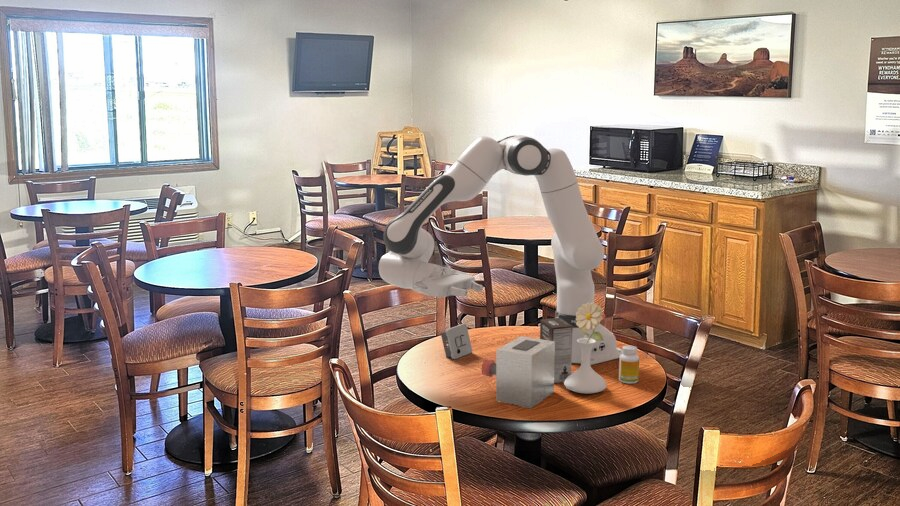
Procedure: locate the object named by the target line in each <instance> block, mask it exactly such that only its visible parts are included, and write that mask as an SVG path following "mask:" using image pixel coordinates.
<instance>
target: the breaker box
mask: <svg viewBox="0 0 900 506" xmlns="http://www.w3.org/2000/svg"><path fill="white" fill-rule="evenodd" d="M554 362H555V341H548V340H542V339H540V338H536V337H535V338H534V337H528V336H523V335H520V336H519V337H516V338H515V339H513V340H511V341H509V342H508V343H506V344H504V345H502V346H500V347H498V348H497V349H496V361H495V363H496V375H495V379H496V380H495V387H496V389H495V392H496V393H495V397H496V398H495V402H497V401H500V402H499V403H502V402H504V403H503V404H507V403H509V404H508V405H511V404H514V405H513V406H516V405H520V406H519V407H521V406H523V407H522V408H527V409H532V408H534V407H535V406H537V405H538V404H539V403H541V402H542V401H543V399H544V400H545V399H547V396H548V397H549V396H551V395H552V394H553V393H554V391H555V383H554Z"/></svg>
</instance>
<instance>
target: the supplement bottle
mask: <svg viewBox="0 0 900 506" xmlns="http://www.w3.org/2000/svg"><path fill="white" fill-rule="evenodd" d="M621 350H622V352H623V353H622V354H621V355H620V358H618V359H619V360H618V361H619V363H618V365H619V366H618V368H619V369H618V381H619V382H621V383H623V384H626V385H627V384H628V385H631V384H632V385H633V384H637V383H638V382H639V377H640V375H639V374H640V356H639V355H638V354H637V353H638V347H637V346H636V345H635V346H634V345H630V344H628V345H623V346H622V348H621Z"/></svg>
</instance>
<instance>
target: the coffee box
mask: <svg viewBox="0 0 900 506" xmlns="http://www.w3.org/2000/svg"><path fill="white" fill-rule="evenodd" d="M539 327H540V328H539V329H540V330H539V331H540V332H539V339H542V340H548V341H555V362H554V384H557V383H564V381H565V379H566V378H567V377H568V376H569V375H571V374H572V363H571V362H572V332H573V326H572V325H570V324H569V323H567V322H566V321H564V320H563V319H562V318H555V317H554V318H553V317H552V318H543V319H540V325H539Z"/></svg>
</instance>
